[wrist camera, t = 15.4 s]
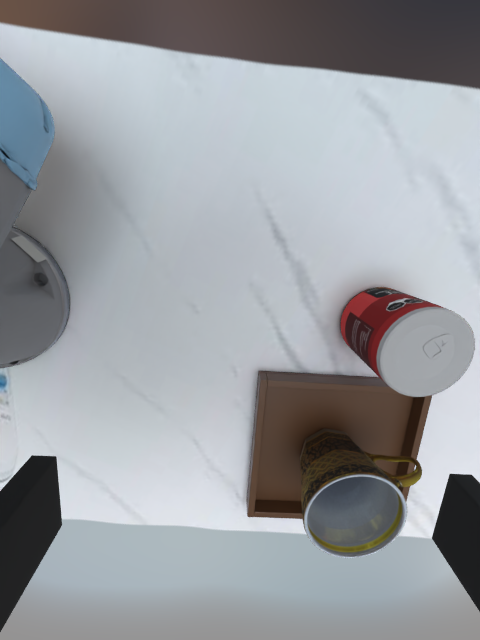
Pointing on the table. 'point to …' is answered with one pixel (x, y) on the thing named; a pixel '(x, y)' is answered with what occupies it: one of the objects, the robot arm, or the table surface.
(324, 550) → the ceramic cup
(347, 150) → the table surface
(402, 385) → the canned food
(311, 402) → the tray
